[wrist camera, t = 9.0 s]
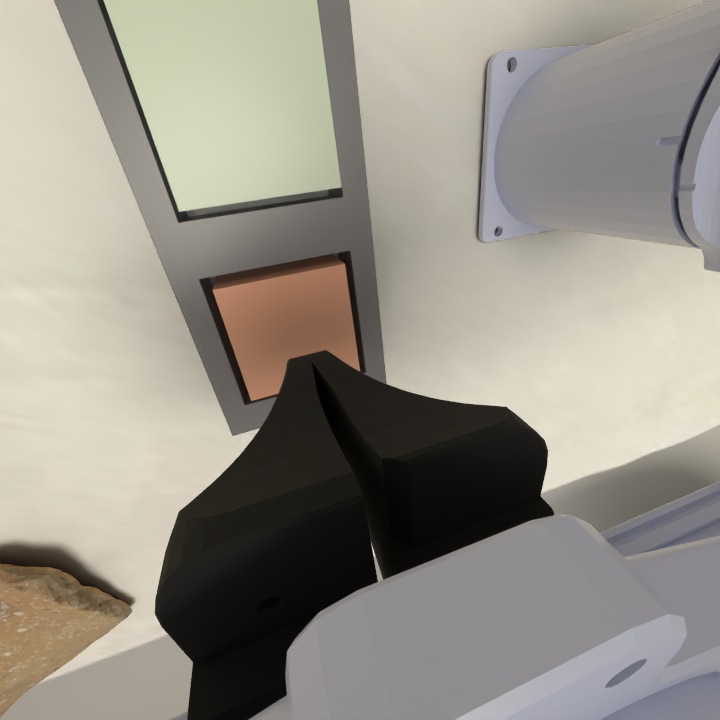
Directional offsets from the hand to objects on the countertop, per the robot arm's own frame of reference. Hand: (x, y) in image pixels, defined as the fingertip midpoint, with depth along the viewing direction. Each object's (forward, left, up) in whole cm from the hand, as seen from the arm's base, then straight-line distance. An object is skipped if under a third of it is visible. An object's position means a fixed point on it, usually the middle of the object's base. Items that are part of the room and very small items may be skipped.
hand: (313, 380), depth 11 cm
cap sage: (0, -8, -5) cm, 10 cm away
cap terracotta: (0, 0, -6) cm, 6 cm away
